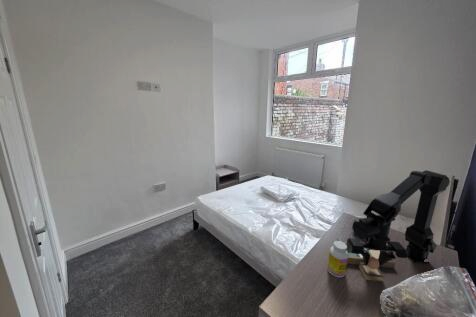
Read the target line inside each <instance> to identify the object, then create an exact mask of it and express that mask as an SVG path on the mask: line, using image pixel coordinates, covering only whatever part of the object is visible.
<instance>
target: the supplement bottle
mask: <svg viewBox="0 0 476 317" xmlns="http://www.w3.org/2000/svg"><path fill="white" fill-rule="evenodd" d="M343 242H344V241H342V240H341V241H337V240H335V241H334V242H333V244H332V245H331V247H330V248H329V253H328V261H327V268H326V269H327V271H328V273H330V275H332V276H333V277H335V278H343V277H344V276H346V272H347V266H348V263H347V262H348V256H349V255H348V252H347V245H346V244H345V243H343Z"/></svg>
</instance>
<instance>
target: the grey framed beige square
mask: <svg viewBox="0 0 476 317" xmlns="http://www.w3.org/2000/svg"><path fill="white" fill-rule="evenodd" d="M358 268H359V270H360V272H361V274H362V275H363V277H364V279H365V280H367V281H375V282H384V274H383V273H382V271H381V270H380V267H378V268H377V269H371V268H370V267H368V265H367V266H365V264H364V263H360V265H358Z"/></svg>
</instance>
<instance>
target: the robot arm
mask: <svg viewBox="0 0 476 317" xmlns="http://www.w3.org/2000/svg"><path fill="white" fill-rule="evenodd" d="M450 183H451V180H450V178H449V177H448V176H447V175H446V174H443V173H439V172H435V171H430V170H423V171H418V170H412V171H410V174H409V175H408V176H407V177H406V178H405V179H404V180H402V182H401V183H399V184H397V186H396V187H395V188H393V189H392V190H391V191H389V192H388V193H383V194H379V195H378V196H377V197H375V198H374V199H372V200H371V201H370V203H369V205H368V206H367V207H366V209H365V210H364V212H362V213H363V215H365V217H363V218H361V219H360V218H359V219H358V220H359V221H358V222H355V223H354V222H353V223H354V224H353V223H352V226H353V229H352V231H353V233H354V234H355V236H356V237H357V238H354V237H349V238H347V239H346V242H347V245H348V246H349V248H350V250H351V252H352V253H355V254H361V255H362V256H363V260H364V264H365V266H367V264H368V262H369V259H370V254H369V253H368V252H369V250H377V251H380V254H379V258H378V261H379V264H380V265H379V267H378V268H382V267H381V266H382V265H384V264H385V263H386V262H388V261H390V260H392V259H393V260H395V259H396V258H398V259H399V258H401V259H407V258H409V257H410V258H409V259H410V260H411V261H412V262H414V261H418V262H417V263H424V260H425V259H428V257H429V254H430V253H432V254H433V253H434V252H435V250H436V249H437V244H436V242H435V241H434V236H435V234H434V232H433V231H432V229H431V224H432V221H433V220H432V219H433V216H434V214H435V213H434V212H435V208H436V205H437V201H438V198H439V195H440V194H443V192H445V191H446V190H447V188H448V187H449V185H450ZM417 191H420V196H419V200H418V204H417V208H416V211H415V212H416V213H415V217H414V222H413V224H410V226H407V227H406V228H405V232H404V238H405V239H404V240H405V241H406V242H408V244H407V245H406V248H405V247H404V245H402V244H401V243H400V242H399V241H393V240H391V238H390V237H389V234H390V229H391V225H392V222H394V221H396V217H397V216H398V215H399V213H400V212H401V210H402V204H403V203H404V202H406V201H407V200H408V199H409V198H410V197H412V196H413V195H414V194H415V193H416V192H417ZM360 239H362V240H364V241H365V242H361V240H360Z"/></svg>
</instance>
